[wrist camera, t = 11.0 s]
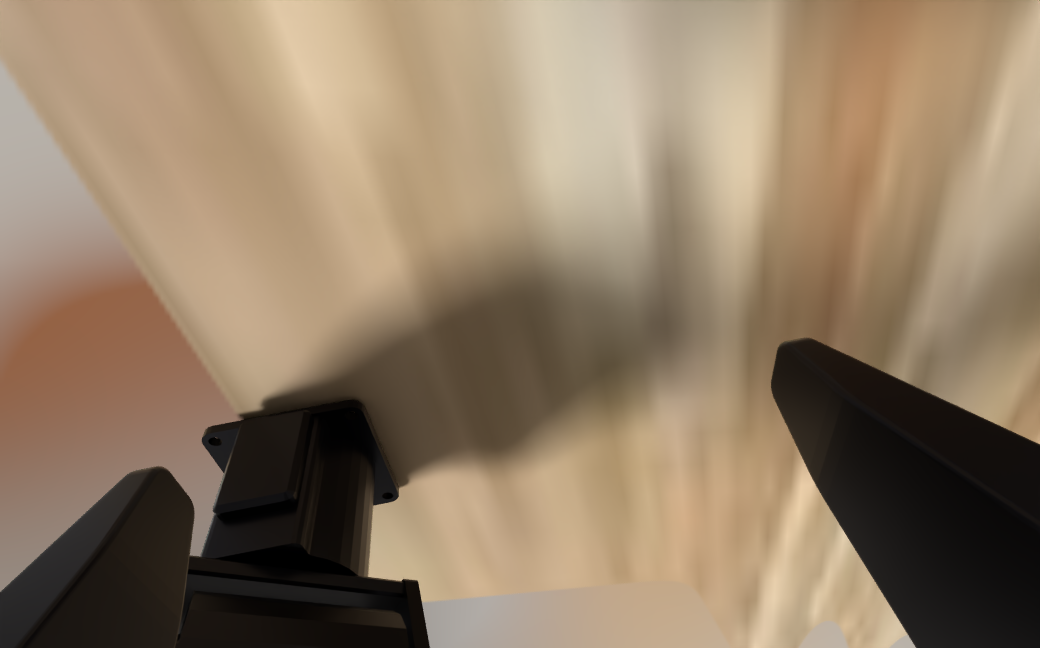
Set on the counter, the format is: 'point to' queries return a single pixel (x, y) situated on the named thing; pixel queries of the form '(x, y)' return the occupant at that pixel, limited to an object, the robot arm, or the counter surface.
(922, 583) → the robot arm
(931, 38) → the counter surface
